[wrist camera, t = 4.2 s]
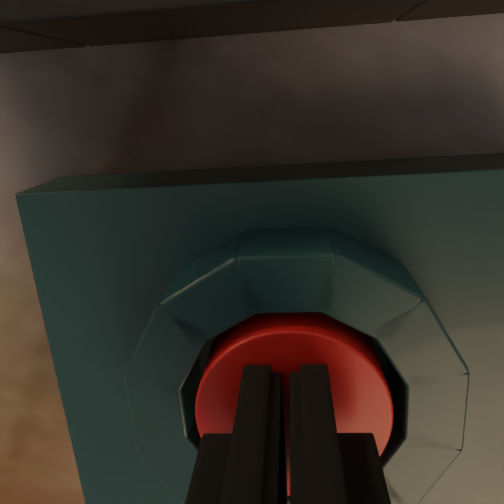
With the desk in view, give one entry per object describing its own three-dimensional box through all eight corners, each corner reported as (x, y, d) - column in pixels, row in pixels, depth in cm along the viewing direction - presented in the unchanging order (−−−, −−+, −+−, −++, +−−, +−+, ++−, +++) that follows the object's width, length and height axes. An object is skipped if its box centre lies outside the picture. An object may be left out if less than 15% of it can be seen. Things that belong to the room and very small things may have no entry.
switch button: (380, 290, 10) (397, 328, 9) (376, 440, 12) (391, 498, 10) (200, 296, 11) (184, 333, 9) (216, 440, 12) (204, 496, 10)
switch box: (532, 151, 11) (652, 180, 8) (496, 452, 14) (570, 581, 10) (59, 176, 13) (-40, 213, 9) (112, 451, 15) (55, 568, 12)
